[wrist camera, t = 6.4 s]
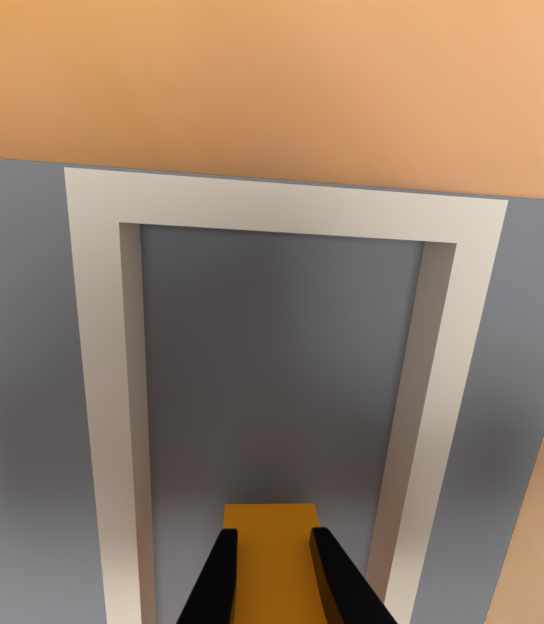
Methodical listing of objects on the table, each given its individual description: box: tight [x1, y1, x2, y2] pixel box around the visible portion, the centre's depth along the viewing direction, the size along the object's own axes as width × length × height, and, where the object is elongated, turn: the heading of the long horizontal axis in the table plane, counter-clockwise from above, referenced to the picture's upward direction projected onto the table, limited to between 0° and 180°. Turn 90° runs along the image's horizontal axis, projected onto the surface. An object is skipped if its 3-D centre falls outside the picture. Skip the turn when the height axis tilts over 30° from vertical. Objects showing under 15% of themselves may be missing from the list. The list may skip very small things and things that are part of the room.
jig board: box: [0, 159, 544, 624], centre depth 10 cm, size 18×18×2 cm
